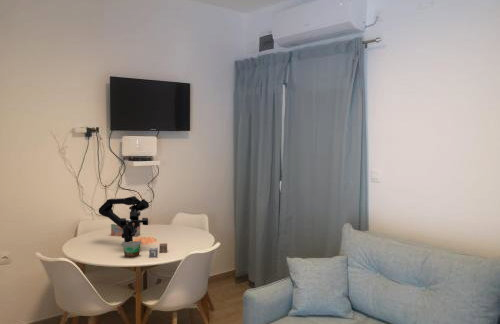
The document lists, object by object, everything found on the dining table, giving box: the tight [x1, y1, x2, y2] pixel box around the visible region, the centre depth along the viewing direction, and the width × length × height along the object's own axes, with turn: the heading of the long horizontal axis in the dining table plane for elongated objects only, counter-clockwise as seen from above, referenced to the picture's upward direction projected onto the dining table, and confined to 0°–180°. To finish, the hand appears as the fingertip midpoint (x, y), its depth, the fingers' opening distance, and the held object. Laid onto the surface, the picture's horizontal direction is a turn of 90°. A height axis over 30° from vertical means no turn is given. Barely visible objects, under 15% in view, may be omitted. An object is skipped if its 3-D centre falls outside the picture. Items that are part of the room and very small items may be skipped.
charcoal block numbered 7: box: [148, 247, 159, 258], centre depth 243 cm, size 5×5×5 cm
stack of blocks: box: [110, 218, 141, 238], centre depth 290 cm, size 21×6×12 cm, turn 84°
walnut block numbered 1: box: [158, 242, 168, 254], centre depth 253 cm, size 5×5×5 cm
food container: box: [121, 239, 142, 258], centre depth 241 cm, size 12×6×10 cm, turn 103°
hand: (133, 232), depth 249 cm, fingers closed
